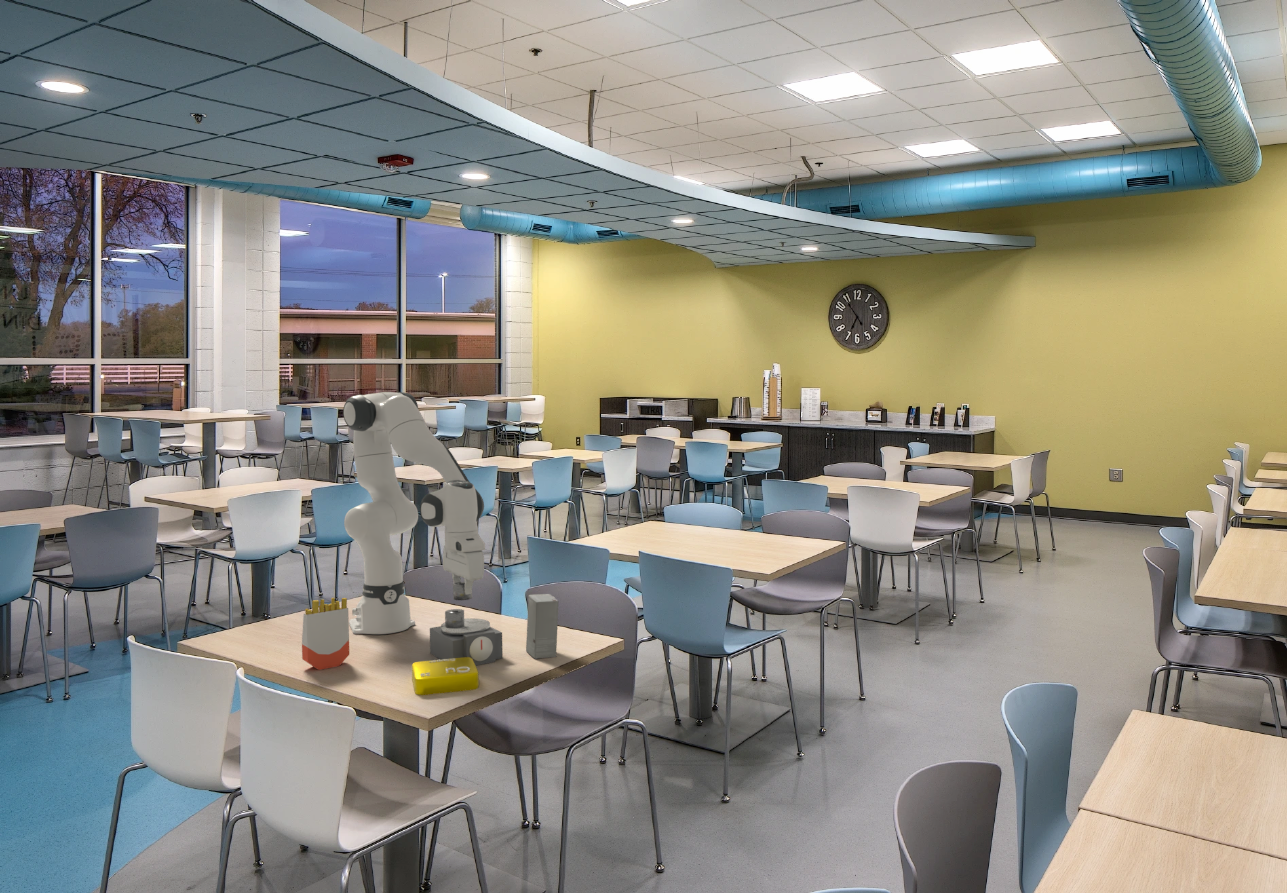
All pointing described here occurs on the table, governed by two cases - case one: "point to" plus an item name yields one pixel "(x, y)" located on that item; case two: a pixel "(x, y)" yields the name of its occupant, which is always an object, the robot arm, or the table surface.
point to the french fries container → (326, 634)
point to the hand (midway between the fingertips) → (462, 591)
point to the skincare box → (542, 626)
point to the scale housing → (467, 645)
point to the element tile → (444, 676)
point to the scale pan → (468, 627)
